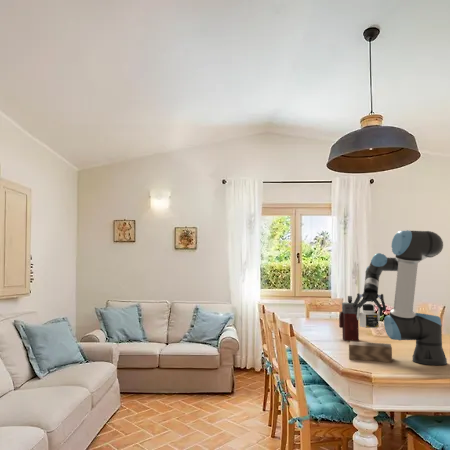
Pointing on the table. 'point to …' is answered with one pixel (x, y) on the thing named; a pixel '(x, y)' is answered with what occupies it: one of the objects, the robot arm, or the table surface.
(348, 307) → the dark red tall piece
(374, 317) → the medicine bottle
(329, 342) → the table surface
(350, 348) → the walnut box
